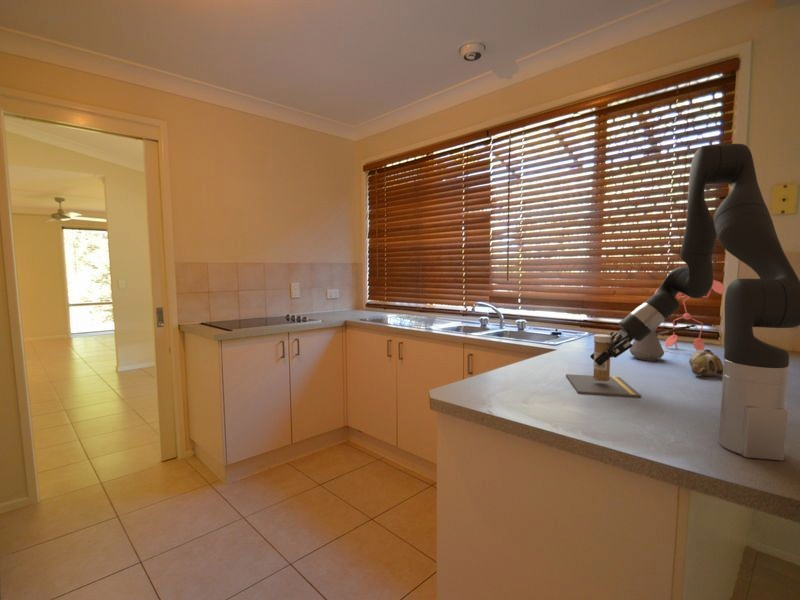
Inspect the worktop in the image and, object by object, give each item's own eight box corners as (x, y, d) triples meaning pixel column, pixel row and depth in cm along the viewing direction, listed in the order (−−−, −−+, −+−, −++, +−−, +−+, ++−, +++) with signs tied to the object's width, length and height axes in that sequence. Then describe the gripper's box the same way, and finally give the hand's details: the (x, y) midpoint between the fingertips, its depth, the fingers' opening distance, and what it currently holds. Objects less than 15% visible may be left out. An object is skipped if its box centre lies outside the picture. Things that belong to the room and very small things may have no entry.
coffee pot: (624, 358, 153) (626, 319, 152) (635, 353, 161) (637, 317, 159) (690, 368, 137) (693, 326, 136) (699, 363, 144) (701, 323, 143)
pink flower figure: (656, 344, 180) (661, 268, 177) (725, 355, 158) (731, 268, 155) (638, 348, 172) (642, 268, 169) (708, 359, 150) (714, 268, 147)
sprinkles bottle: (612, 380, 117) (614, 335, 116) (604, 382, 114) (606, 336, 113) (597, 376, 121) (599, 333, 119) (589, 379, 118) (590, 334, 117)
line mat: (641, 397, 107) (641, 394, 107) (578, 393, 111) (578, 390, 111) (619, 379, 125) (619, 376, 125) (565, 376, 128) (566, 373, 128)
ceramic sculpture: (719, 345, 134) (738, 357, 120) (717, 369, 135) (736, 384, 121) (681, 343, 138) (697, 355, 124) (680, 367, 139) (695, 381, 125)
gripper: (623, 310, 121) (579, 347, 125) (640, 315, 107) (591, 357, 111) (641, 327, 120) (597, 364, 124) (661, 335, 106) (611, 376, 110)
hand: (594, 360), depth 117 cm, fingers closed on sprinkles bottle, 4 cm apart
